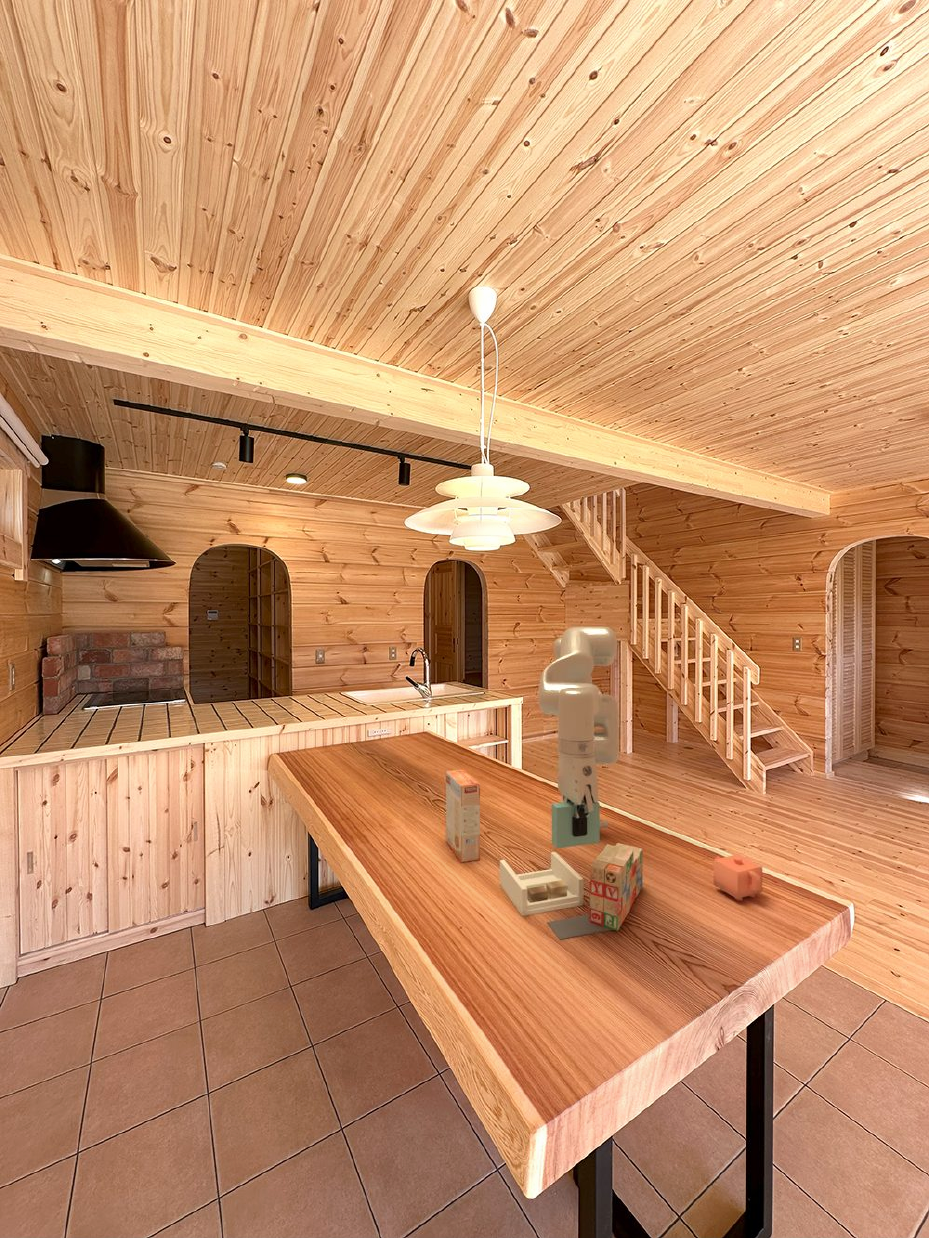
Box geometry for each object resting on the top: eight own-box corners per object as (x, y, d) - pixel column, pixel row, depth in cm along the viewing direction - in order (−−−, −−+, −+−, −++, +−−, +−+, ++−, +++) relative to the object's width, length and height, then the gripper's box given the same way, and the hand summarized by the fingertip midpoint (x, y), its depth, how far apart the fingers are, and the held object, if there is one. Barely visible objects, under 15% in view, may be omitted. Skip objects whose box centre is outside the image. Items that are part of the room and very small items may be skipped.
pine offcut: (562, 892, 121) (561, 880, 121) (567, 898, 119) (567, 885, 118) (546, 895, 120) (546, 882, 120) (551, 901, 117) (551, 888, 117)
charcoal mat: (600, 913, 114) (600, 911, 114) (616, 929, 109) (616, 927, 109) (547, 924, 111) (547, 922, 111) (560, 941, 105) (560, 939, 105)
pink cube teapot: (727, 876, 130) (727, 843, 130) (770, 901, 119) (770, 865, 119) (703, 882, 127) (703, 848, 127) (745, 908, 116) (745, 871, 116)
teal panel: (593, 837, 113) (593, 798, 113) (599, 842, 111) (599, 802, 111) (551, 843, 110) (551, 803, 110) (557, 848, 108) (556, 807, 108)
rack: (555, 875, 131) (555, 851, 131) (583, 905, 118) (583, 878, 118) (499, 884, 127) (499, 860, 127) (522, 916, 113) (522, 889, 113)
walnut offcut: (543, 896, 120) (543, 885, 120) (548, 902, 117) (547, 891, 117) (527, 899, 118) (527, 888, 118) (531, 905, 116) (531, 893, 116)
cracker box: (481, 860, 139) (481, 782, 139) (460, 864, 137) (459, 785, 137) (465, 838, 152) (464, 768, 152) (445, 841, 151) (445, 770, 150)
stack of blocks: (616, 879, 129) (617, 830, 128) (642, 886, 125) (643, 836, 125) (588, 921, 110) (589, 864, 110) (618, 931, 107) (619, 872, 107)
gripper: (612, 754, 104) (612, 846, 104) (573, 736, 119) (574, 816, 119) (578, 757, 102) (578, 851, 102) (543, 739, 117) (544, 820, 117)
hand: (576, 831), depth 111 cm, fingers closed on teal panel, 2 cm apart
